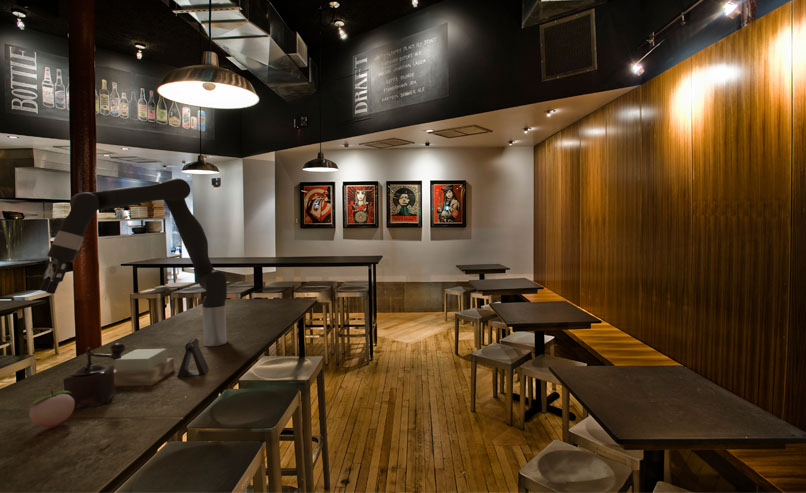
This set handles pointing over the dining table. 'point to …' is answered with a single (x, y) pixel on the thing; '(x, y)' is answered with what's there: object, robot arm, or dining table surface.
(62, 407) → the decorative fruit
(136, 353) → the tower top
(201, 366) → the phone stand
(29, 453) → the dining table surface
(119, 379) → the tower base
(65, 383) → the manual coffee grinder
